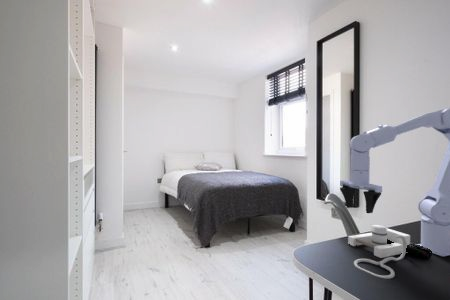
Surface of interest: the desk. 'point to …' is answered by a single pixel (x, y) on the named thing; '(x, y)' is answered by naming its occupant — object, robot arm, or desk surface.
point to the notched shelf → (382, 249)
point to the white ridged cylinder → (379, 235)
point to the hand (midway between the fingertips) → (359, 210)
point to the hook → (384, 261)
